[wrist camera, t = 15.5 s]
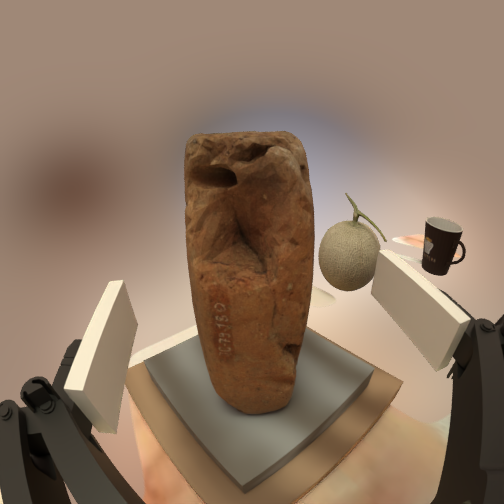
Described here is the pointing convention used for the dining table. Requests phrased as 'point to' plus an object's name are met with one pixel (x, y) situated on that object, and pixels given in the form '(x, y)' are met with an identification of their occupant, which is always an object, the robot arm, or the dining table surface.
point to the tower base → (285, 477)
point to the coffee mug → (441, 245)
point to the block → (250, 261)
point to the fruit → (349, 253)
